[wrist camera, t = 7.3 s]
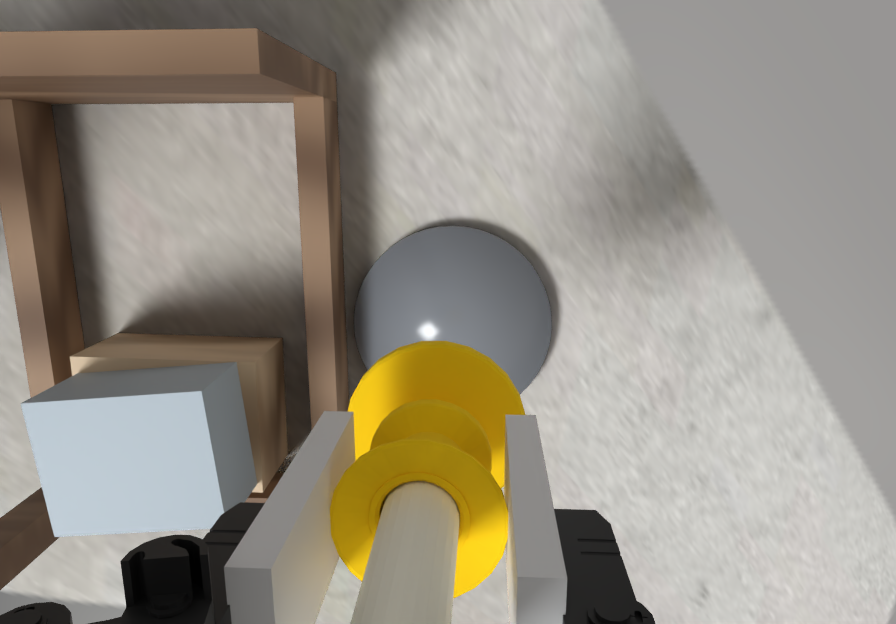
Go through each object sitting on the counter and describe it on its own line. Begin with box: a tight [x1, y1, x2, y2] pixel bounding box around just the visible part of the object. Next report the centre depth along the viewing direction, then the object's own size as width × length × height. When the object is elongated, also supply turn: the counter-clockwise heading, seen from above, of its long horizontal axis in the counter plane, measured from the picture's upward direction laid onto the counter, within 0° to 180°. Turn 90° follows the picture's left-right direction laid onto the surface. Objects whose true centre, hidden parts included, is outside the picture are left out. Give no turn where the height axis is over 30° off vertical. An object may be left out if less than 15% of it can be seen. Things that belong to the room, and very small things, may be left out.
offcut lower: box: [70, 333, 288, 493], centre depth 30 cm, size 6×8×4 cm
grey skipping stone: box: [354, 226, 552, 394], centre depth 30 cm, size 9×9×1 cm
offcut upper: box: [21, 362, 257, 537], centre depth 26 cm, size 6×7×4 cm
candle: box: [330, 341, 525, 624], centre depth 12 cm, size 5×5×16 cm
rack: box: [0, 28, 349, 590], centre depth 26 cm, size 20×14×10 cm
